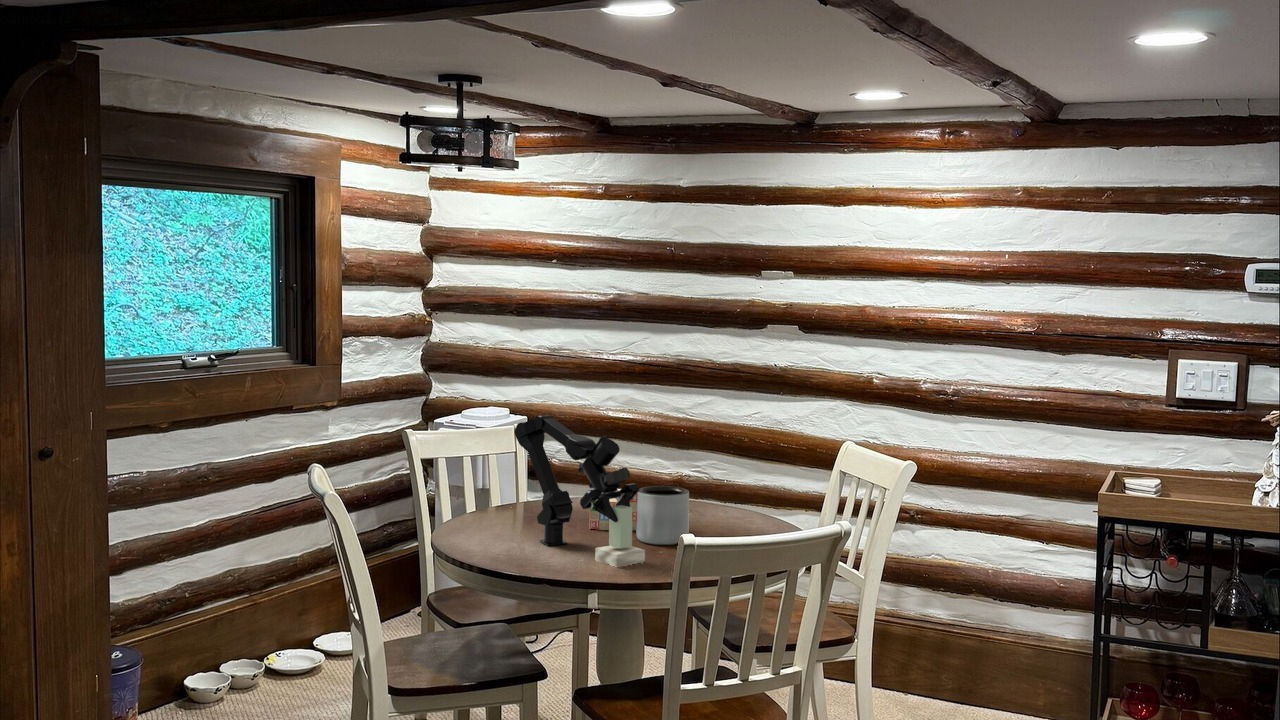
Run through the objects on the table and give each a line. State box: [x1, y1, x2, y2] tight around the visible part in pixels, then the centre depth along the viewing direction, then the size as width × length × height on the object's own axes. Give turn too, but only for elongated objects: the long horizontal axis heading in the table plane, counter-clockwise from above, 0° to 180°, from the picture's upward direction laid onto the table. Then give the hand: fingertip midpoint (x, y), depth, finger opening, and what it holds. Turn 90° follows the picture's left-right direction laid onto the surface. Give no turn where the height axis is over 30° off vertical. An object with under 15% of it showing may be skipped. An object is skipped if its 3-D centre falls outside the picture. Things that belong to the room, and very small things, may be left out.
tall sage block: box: [608, 505, 633, 548], centre depth 314 cm, size 5×5×11 cm
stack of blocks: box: [588, 488, 638, 531], centre depth 358 cm, size 21×6×12 cm, turn 93°
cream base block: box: [594, 545, 646, 568], centre depth 315 cm, size 10×10×4 cm
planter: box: [635, 485, 690, 546], centre depth 342 cm, size 16×16×16 cm
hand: (623, 520), depth 313 cm, fingers open, 5 cm apart
